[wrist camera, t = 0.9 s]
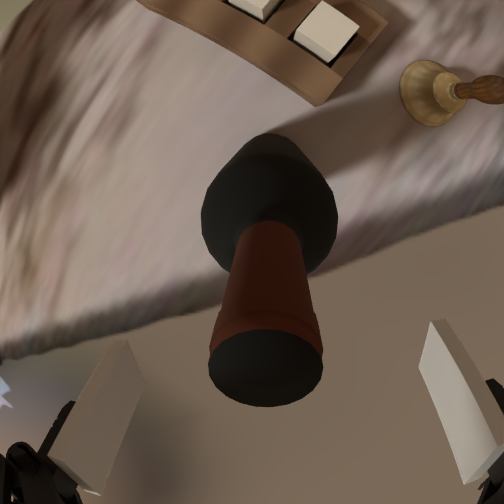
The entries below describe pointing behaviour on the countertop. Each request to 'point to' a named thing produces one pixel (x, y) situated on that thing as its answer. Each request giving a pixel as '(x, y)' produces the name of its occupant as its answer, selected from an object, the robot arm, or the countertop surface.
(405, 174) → the countertop surface
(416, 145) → the countertop surface
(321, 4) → the outer button
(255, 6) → the middle button
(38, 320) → the countertop surface
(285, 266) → the wine bottle
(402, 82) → the hand bell
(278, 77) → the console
